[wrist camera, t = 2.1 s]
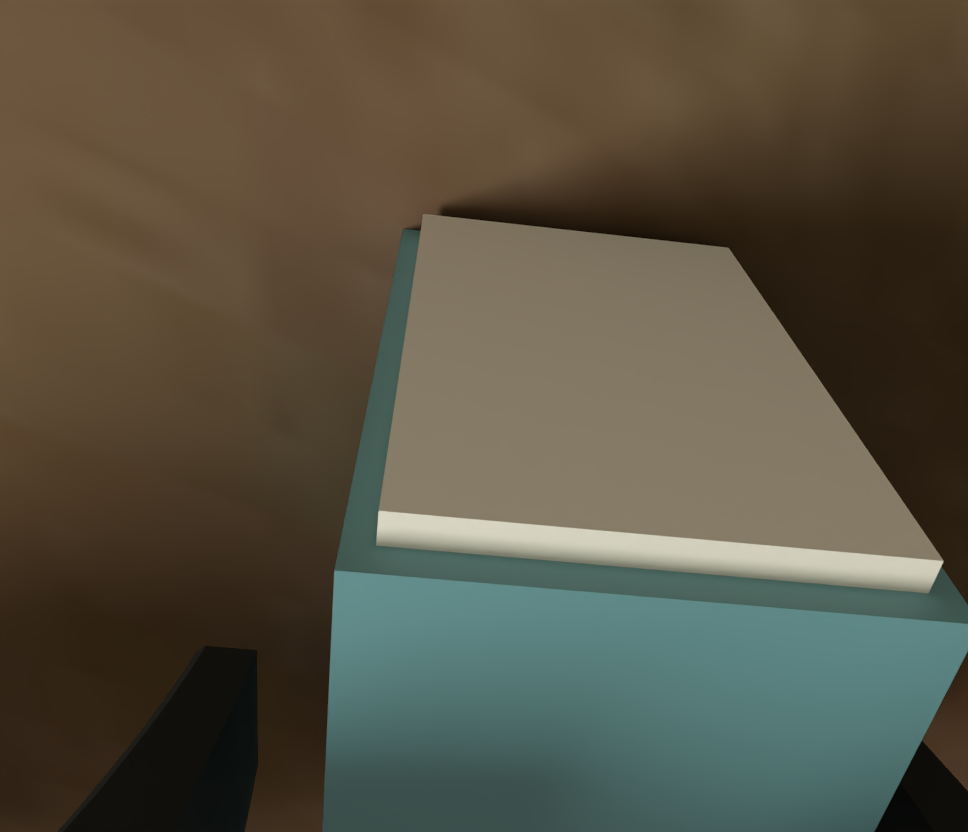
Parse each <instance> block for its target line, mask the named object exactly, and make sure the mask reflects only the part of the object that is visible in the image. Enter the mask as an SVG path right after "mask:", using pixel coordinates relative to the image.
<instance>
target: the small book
mask: <svg viewBox="0 0 968 832" xmlns="http://www.w3.org/2000/svg"><path fill="white" fill-rule="evenodd" d="M943 562H944V561H943V559H942V558H941V556H940V555H939V553H938V552H937V550H936V549H935V548H934V546H933V545H932V543H931V542H930V540H929V539H928V537H927V536H926V534H925V533H924V532H923V530H922V529H921V527H920V526H919V524H918V523H917V521H916V520H915V518H914V517H913V516H912V514H911V513H910V511H909V510H908V508H907V507H906V505H905V504H904V502H903V501H902V499H901V498H900V497H899V495H898V494H897V492H896V491H895V489H894V488H893V486H892V485H891V483H890V482H889V481H888V479H887V478H886V476H885V475H884V473H883V472H882V470H881V469H880V467H879V466H878V465H877V463H876V462H875V460H874V459H873V457H872V456H871V454H870V453H869V451H868V450H867V449H866V447H865V446H864V444H863V443H862V441H861V440H860V438H859V437H858V435H857V434H856V433H855V431H854V430H853V428H852V427H851V425H850V424H849V422H848V421H847V419H846V418H845V417H844V415H843V414H842V412H841V411H840V409H839V408H838V406H837V405H836V403H835V402H834V400H833V399H832V398H831V396H830V395H829V393H828V392H827V390H826V389H825V387H824V386H823V384H822V383H821V382H820V380H819V379H818V377H817V376H816V374H815V373H814V371H813V370H812V368H811V367H810V366H809V364H808V363H807V361H806V360H805V358H804V357H803V355H802V354H801V352H800V351H799V350H798V348H797V347H796V345H795V344H794V342H793V341H792V339H791V338H790V336H789V335H788V334H787V332H786V331H785V329H784V328H783V326H782V325H781V323H780V322H779V320H778V319H777V318H776V316H775V315H774V313H773V312H772V310H771V309H770V307H769V306H768V304H767V303H766V301H765V300H764V299H763V297H762V296H761V294H760V293H759V291H758V290H757V288H756V287H755V285H754V284H753V283H752V281H751V280H750V278H749V277H748V275H747V274H746V272H745V271H744V269H743V268H742V267H741V265H740V264H739V262H738V261H737V259H736V258H735V256H734V255H733V253H732V252H731V251H730V249H729V248H727V247H718V246H709V245H700V244H691V243H682V242H673V241H664V240H655V239H646V238H637V237H628V236H619V235H610V234H601V233H592V232H583V231H573V230H564V229H555V228H546V227H537V226H528V225H519V224H510V223H501V222H492V221H483V220H474V219H465V218H456V217H447V216H438V215H429V214H423V219H422V225H421V231H419V230H410V229H403V232H402V237H401V242H400V247H399V251H398V256H397V261H396V266H395V271H394V276H393V281H392V286H391V291H390V296H389V301H388V306H387V311H386V316H385V321H384V326H383V331H382V336H381V341H380V346H379V351H378V356H377V361H376V366H375V371H374V376H373V381H372V386H371V391H370V396H369V401H368V405H367V410H366V415H365V420H364V425H363V430H362V435H361V440H360V445H359V450H358V455H357V460H356V465H355V470H354V475H353V480H352V485H351V490H350V495H349V500H348V505H347V510H346V515H345V520H344V525H343V530H342V535H341V540H340V545H339V550H338V555H337V559H336V564H335V569H334V588H333V609H332V631H331V653H330V675H329V697H328V718H327V740H326V762H325V784H324V806H323V828H322V832H874V831H875V829H876V828H877V826H878V824H879V822H880V820H881V818H882V816H883V814H884V812H885V810H886V808H887V806H888V804H889V802H890V800H891V799H892V797H893V795H894V793H895V791H896V789H897V787H898V785H899V783H900V781H901V779H902V777H903V775H904V773H905V772H906V770H907V768H908V766H909V764H910V762H911V760H912V758H913V756H914V754H915V752H916V750H917V748H918V746H919V744H920V743H921V741H922V739H923V737H924V735H925V733H926V731H927V729H928V727H929V725H930V723H931V721H932V719H933V717H934V716H935V714H936V712H937V710H938V708H939V706H940V704H941V702H942V700H943V698H944V696H945V694H946V692H947V690H948V688H949V687H950V685H951V683H952V681H953V679H954V677H955V675H956V673H957V671H958V669H959V667H960V665H961V663H962V661H963V660H964V658H965V656H966V654H967V652H968V605H967V603H966V602H965V600H964V599H963V597H962V596H961V594H960V593H959V591H958V590H957V589H956V587H955V586H954V584H953V583H952V581H951V580H950V578H949V577H948V575H947V574H946V572H945V571H944V569H943V568H942V564H943Z"/></svg>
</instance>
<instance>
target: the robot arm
mask: <svg viewBox="0 0 968 832" xmlns="http://www.w3.org/2000/svg"><path fill="white" fill-rule="evenodd" d="M257 766H258V736H257V650H247V649H235V648H223V647H210V646H205V647H204V648H202V649H201V650H199V651H198V652H196V654H195V655H194V657H193V658H192V660H191V661H190V663H189V664H188V666H187V668H186V669H185V671H184V672H183V674H182V675H181V676H180V678H179V679H178V681H177V682H176V684H175V685H174V687H173V688H172V690H171V691H170V692H169V694H168V695H167V697H166V698H165V699H164V701H163V702H162V704H161V705H160V706H159V708H158V709H157V710H156V712H155V713H154V714H153V716H152V717H151V718H150V720H149V721H148V722H147V724H146V725H145V726H144V728H143V729H142V730H141V732H140V733H139V734H138V736H137V737H136V738H135V740H134V741H133V742H132V743H131V745H130V746H129V747H128V748H127V750H126V751H125V752H124V753H123V755H122V756H121V757H120V758H119V760H118V761H117V762H116V763H115V765H114V766H113V767H112V768H111V770H110V771H109V772H108V773H107V774H106V776H105V777H104V778H103V779H102V781H101V782H100V783H99V784H98V786H97V787H96V788H95V789H94V791H93V792H92V793H91V794H90V795H89V797H88V798H87V799H86V800H85V801H84V802H83V804H82V805H81V806H80V807H79V808H78V809H77V811H76V812H75V813H74V814H73V815H72V816H71V817H70V818H69V820H68V821H67V822H66V823H65V824H64V825H63V826H62V827H61V828H60V830H59V831H58V832H244V831H245V826H246V821H247V816H248V812H249V807H250V802H251V797H252V791H253V786H254V781H255V776H256V771H257ZM874 832H968V791H967V790H966V789H965V788H964V787H963V785H962V784H961V783H960V782H959V781H958V780H957V779H956V778H955V777H954V776H953V774H952V773H951V772H950V771H949V770H948V769H947V768H946V767H945V766H944V764H943V763H942V762H941V761H940V760H939V759H938V758H937V757H936V756H935V754H934V753H933V752H932V751H931V750H930V749H929V748H928V747H927V746H926V745H925V743H924V742H923V741H921V743H920V744H919V746H918V748H917V750H916V752H915V754H914V756H913V758H912V760H911V762H910V764H909V766H908V768H907V770H906V772H905V773H904V775H903V777H902V779H901V781H900V783H899V785H898V787H897V789H896V791H895V793H894V795H893V797H892V799H891V800H890V802H889V804H888V806H887V808H886V810H885V812H884V814H883V816H882V818H881V820H880V822H879V824H878V826H877V828H876V829H875V831H874Z"/></svg>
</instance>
